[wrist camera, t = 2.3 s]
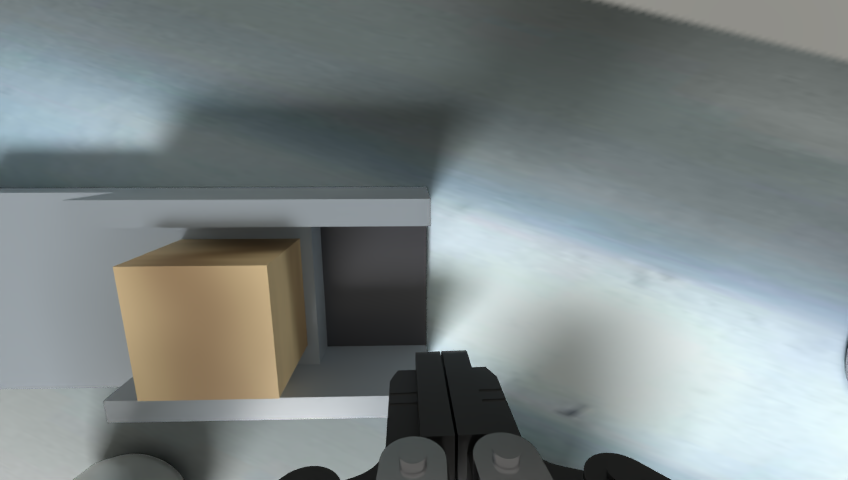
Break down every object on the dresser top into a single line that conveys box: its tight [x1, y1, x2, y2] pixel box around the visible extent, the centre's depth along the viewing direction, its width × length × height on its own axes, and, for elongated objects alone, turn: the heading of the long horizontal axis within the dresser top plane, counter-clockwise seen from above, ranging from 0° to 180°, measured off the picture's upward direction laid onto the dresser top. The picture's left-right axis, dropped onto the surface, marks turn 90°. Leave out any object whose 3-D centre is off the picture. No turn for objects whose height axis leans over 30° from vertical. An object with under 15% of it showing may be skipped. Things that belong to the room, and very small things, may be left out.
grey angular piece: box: [0, 187, 431, 423], centre depth 17 cm, size 20×9×4 cm, turn 90°
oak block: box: [113, 238, 308, 401], centre depth 16 cm, size 5×5×4 cm
